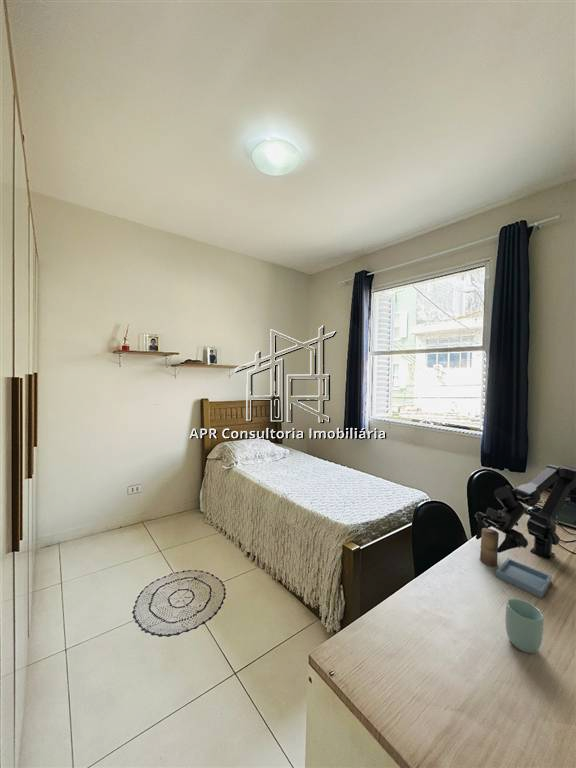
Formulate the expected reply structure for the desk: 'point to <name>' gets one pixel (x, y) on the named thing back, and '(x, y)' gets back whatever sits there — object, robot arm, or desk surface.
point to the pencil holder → (489, 547)
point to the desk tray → (524, 577)
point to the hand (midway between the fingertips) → (486, 545)
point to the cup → (524, 625)
